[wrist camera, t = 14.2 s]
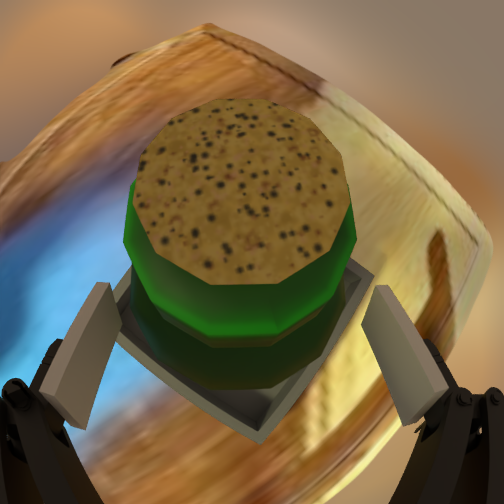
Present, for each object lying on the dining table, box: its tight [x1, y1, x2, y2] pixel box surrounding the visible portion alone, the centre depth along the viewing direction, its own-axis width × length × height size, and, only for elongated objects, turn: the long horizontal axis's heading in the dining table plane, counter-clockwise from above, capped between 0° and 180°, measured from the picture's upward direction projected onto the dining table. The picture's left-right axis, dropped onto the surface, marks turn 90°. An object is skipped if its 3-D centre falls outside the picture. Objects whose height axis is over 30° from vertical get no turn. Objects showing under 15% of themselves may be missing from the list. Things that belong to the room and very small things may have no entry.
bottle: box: [123, 99, 357, 390], centre depth 17 cm, size 11×11×28 cm
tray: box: [112, 258, 374, 445], centre depth 30 cm, size 22×22×4 cm
